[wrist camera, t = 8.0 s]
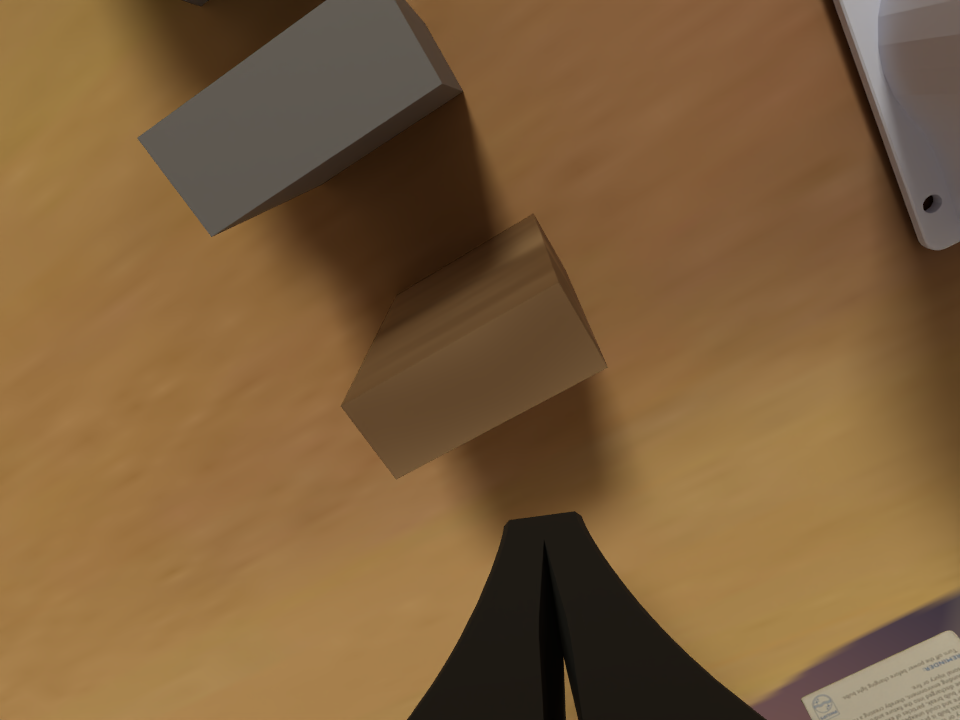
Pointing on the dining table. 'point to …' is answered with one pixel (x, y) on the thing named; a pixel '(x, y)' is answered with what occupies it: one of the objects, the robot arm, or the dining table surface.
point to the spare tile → (472, 350)
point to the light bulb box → (897, 686)
